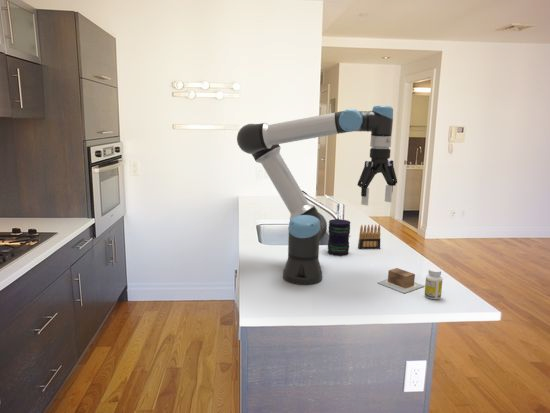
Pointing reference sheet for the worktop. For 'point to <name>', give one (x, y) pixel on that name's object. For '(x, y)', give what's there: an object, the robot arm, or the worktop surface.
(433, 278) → the supplement bottle
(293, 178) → the robot arm
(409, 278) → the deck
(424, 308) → the worktop surface
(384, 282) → the mat
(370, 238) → the ammunition clip
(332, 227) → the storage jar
